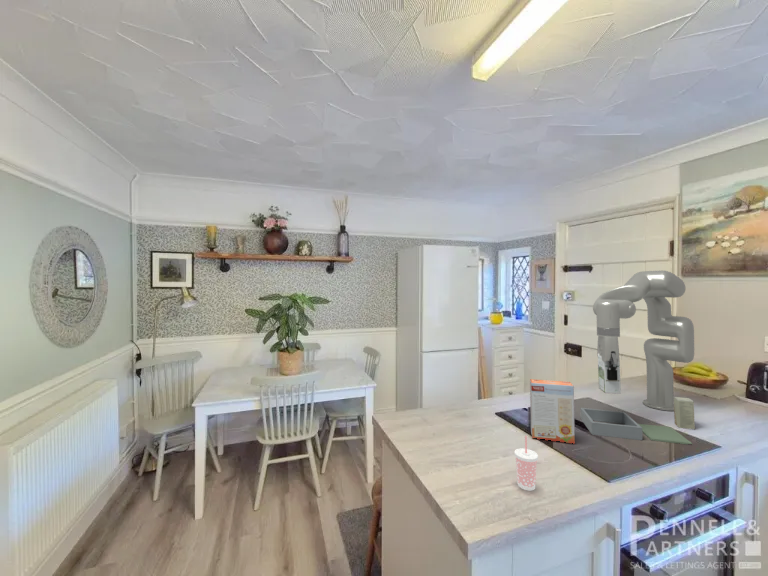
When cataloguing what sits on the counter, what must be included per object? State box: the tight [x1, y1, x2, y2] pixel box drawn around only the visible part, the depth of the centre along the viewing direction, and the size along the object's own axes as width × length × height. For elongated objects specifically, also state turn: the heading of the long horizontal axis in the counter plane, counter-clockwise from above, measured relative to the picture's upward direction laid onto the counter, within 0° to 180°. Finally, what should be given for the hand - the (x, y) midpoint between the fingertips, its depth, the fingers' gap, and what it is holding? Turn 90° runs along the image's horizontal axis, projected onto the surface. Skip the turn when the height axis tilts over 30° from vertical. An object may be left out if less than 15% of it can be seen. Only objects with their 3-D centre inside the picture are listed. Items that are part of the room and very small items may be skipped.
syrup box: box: [597, 354, 622, 395], centre depth 127 cm, size 6×6×14 cm
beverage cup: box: [514, 435, 539, 491], centre depth 91 cm, size 6×6×14 cm
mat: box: [638, 423, 693, 445], centre depth 122 cm, size 14×12×1 cm
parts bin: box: [580, 407, 643, 441], centre depth 127 cm, size 16×16×4 cm
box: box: [673, 396, 696, 430], centre depth 128 cm, size 5×4×11 cm
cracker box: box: [529, 379, 576, 445], centre depth 119 cm, size 14×6×21 cm, turn 71°
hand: (609, 377), depth 127 cm, fingers closed on syrup box, 6 cm apart
